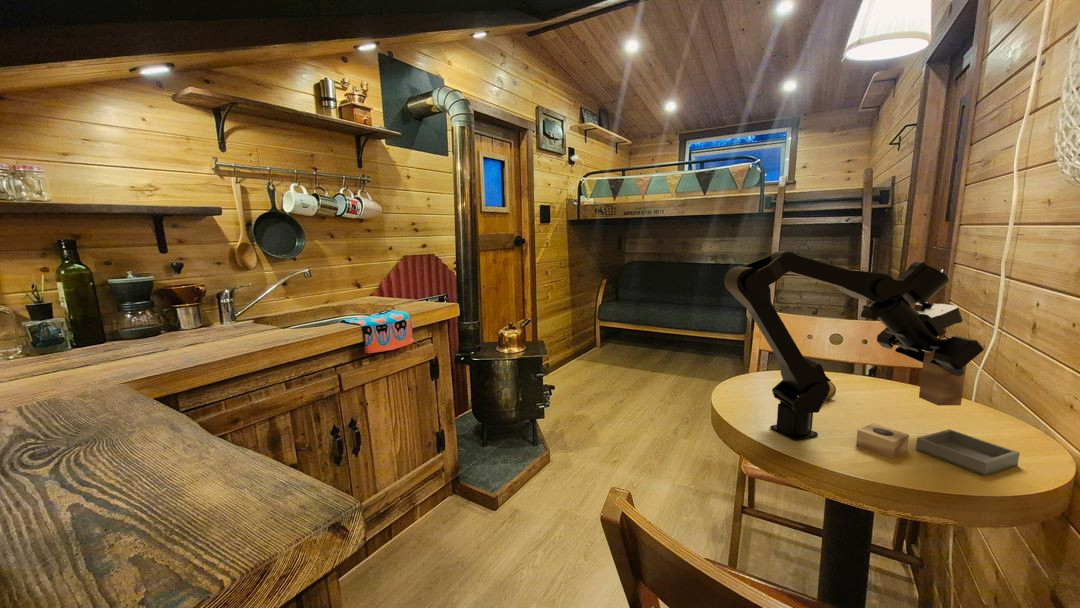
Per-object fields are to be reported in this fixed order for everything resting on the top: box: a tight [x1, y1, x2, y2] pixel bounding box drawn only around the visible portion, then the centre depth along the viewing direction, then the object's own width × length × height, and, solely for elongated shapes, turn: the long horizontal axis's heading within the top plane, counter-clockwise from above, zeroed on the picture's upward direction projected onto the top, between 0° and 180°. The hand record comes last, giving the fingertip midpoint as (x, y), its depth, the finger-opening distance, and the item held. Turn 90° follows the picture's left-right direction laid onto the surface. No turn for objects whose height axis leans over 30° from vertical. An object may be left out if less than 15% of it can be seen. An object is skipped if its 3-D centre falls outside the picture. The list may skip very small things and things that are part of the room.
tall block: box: [918, 337, 968, 406], centre depth 85 cm, size 4×4×13 cm
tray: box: [915, 428, 1020, 477], centre depth 77 cm, size 10×10×2 cm
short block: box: [855, 422, 910, 459], centre depth 81 cm, size 6×6×4 cm
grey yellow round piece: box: [824, 381, 837, 401], centre depth 106 cm, size 5×5×10 cm
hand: (950, 371), depth 85 cm, fingers closed on tall block, 4 cm apart
